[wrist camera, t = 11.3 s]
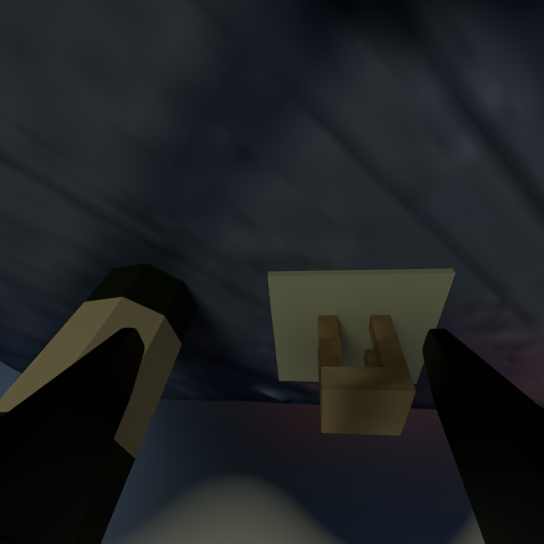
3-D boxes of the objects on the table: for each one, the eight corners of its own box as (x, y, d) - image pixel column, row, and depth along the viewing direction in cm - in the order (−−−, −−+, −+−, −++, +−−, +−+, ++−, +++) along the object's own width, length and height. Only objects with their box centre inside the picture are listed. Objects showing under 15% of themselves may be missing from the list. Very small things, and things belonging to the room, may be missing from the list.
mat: (452, 268, 22) (455, 273, 22) (414, 378, 31) (416, 383, 30) (268, 271, 24) (267, 276, 23) (279, 375, 32) (279, 380, 32)
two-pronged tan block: (389, 314, 25) (415, 391, 19) (380, 359, 28) (400, 435, 23) (317, 315, 26) (322, 389, 20) (317, 359, 29) (321, 432, 23)
